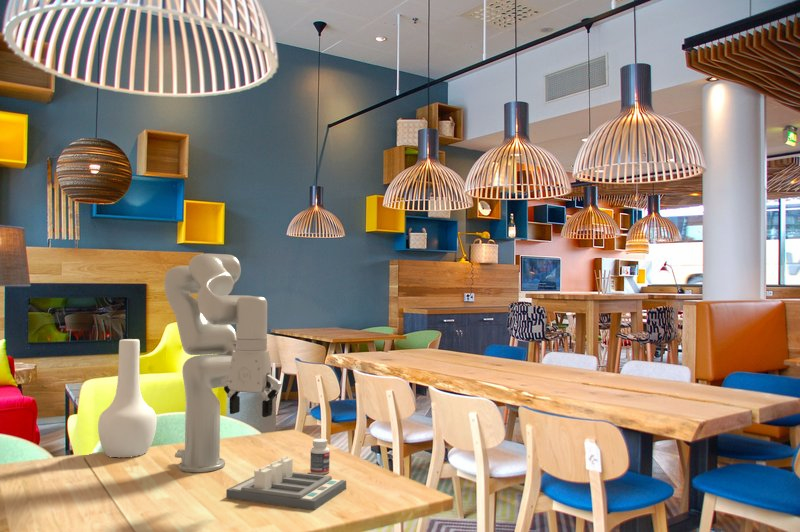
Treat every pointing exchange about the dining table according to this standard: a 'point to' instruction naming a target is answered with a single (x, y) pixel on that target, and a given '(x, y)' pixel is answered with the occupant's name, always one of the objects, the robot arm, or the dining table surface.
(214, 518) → the dining table surface
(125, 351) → the vase
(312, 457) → the pill bottle
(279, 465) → the tab
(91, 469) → the dining table surface
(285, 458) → the tab
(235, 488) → the switch bank
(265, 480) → the tab
